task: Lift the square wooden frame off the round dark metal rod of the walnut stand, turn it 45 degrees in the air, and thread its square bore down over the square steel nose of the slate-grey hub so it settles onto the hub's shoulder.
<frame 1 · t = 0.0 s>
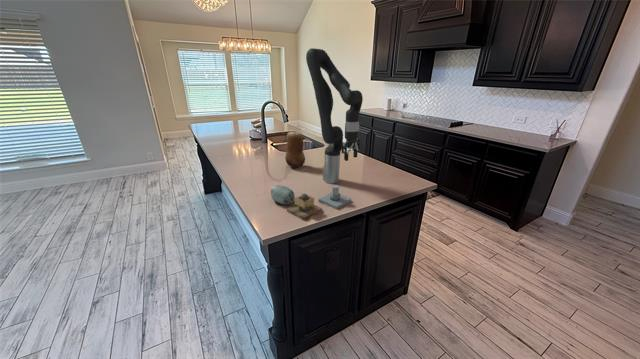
hand: (350, 158, 141), 17 cm above the counter, fingers open, 8 cm apart
teal-grey streaked oval part: (282, 202, 129), on the counter
stand: (304, 211, 120), on the counter
square wooden frame: (304, 203, 119), point 4 cm above the counter, touching stand
hub: (334, 201, 130), on the counter
butternut squash: (295, 167, 177), on the counter
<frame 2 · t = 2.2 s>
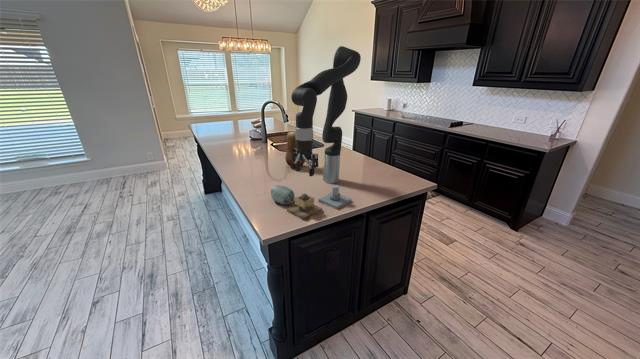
hand: (304, 173, 113), 19 cm above the counter, fingers open, 8 cm apart
nothing on the counter moved.
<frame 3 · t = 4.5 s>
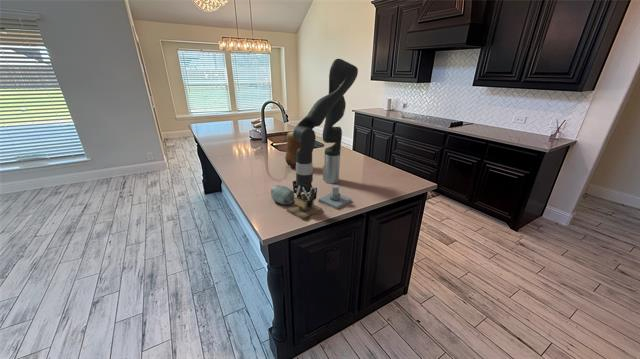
hand: (304, 204, 119), 4 cm above the counter, fingers closed on square wooden frame, 6 cm apart
square wooden frame: (304, 203, 119), point 4 cm above the counter, touching gripper, stand
everything else where it was.
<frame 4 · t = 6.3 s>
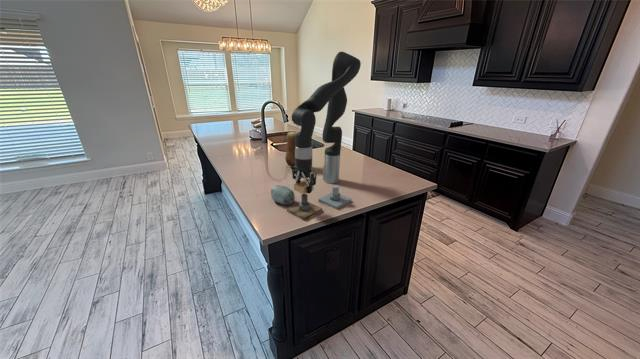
hand: (303, 190, 116), 11 cm above the counter, fingers closed on square wooden frame, 6 cm apart
square wooden frame: (303, 189, 116), point 11 cm above the counter, touching gripper
everything else where it was.
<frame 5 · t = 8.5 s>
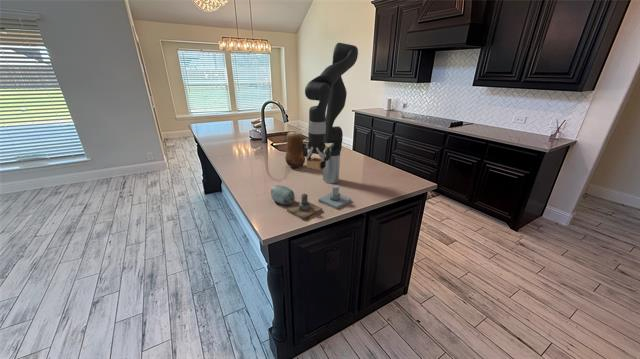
hand: (316, 166, 117), 21 cm above the counter, fingers closed on square wooden frame, 6 cm apart
square wooden frame: (316, 166, 117), point 21 cm above the counter, touching gripper
everything else where it was.
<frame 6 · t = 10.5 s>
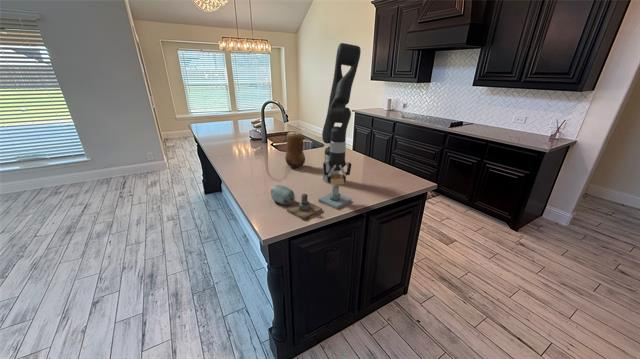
hand: (336, 182, 126), 11 cm above the counter, fingers closed on square wooden frame, 6 cm apart
square wooden frame: (336, 181, 126), point 11 cm above the counter, touching gripper
everything else where it was.
when the fingers open (5 cm above the counter, at t = 12.5 s): square wooden frame stays where it is, resting on hub.
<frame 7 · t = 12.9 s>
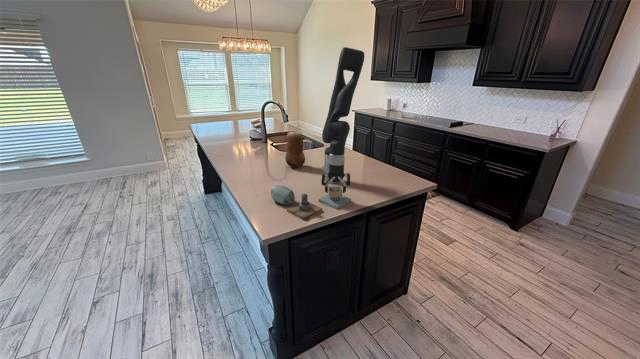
hand: (335, 192, 128), 5 cm above the counter, fingers open, 8 cm apart
square wooden frame: (335, 194, 129), point 4 cm above the counter, touching hub
everything else where it was.
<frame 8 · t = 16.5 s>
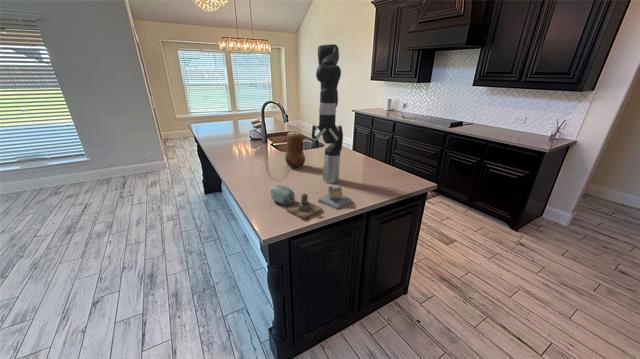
hand: (326, 147, 121), 28 cm above the counter, fingers open, 8 cm apart
nothing on the counter moved.
at the end: square wooden frame 0.0 cm off-centre on the hub, point 4.0 cm above the hub's base; square wooden frame tilted 0°; the gripper is holding nothing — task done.
